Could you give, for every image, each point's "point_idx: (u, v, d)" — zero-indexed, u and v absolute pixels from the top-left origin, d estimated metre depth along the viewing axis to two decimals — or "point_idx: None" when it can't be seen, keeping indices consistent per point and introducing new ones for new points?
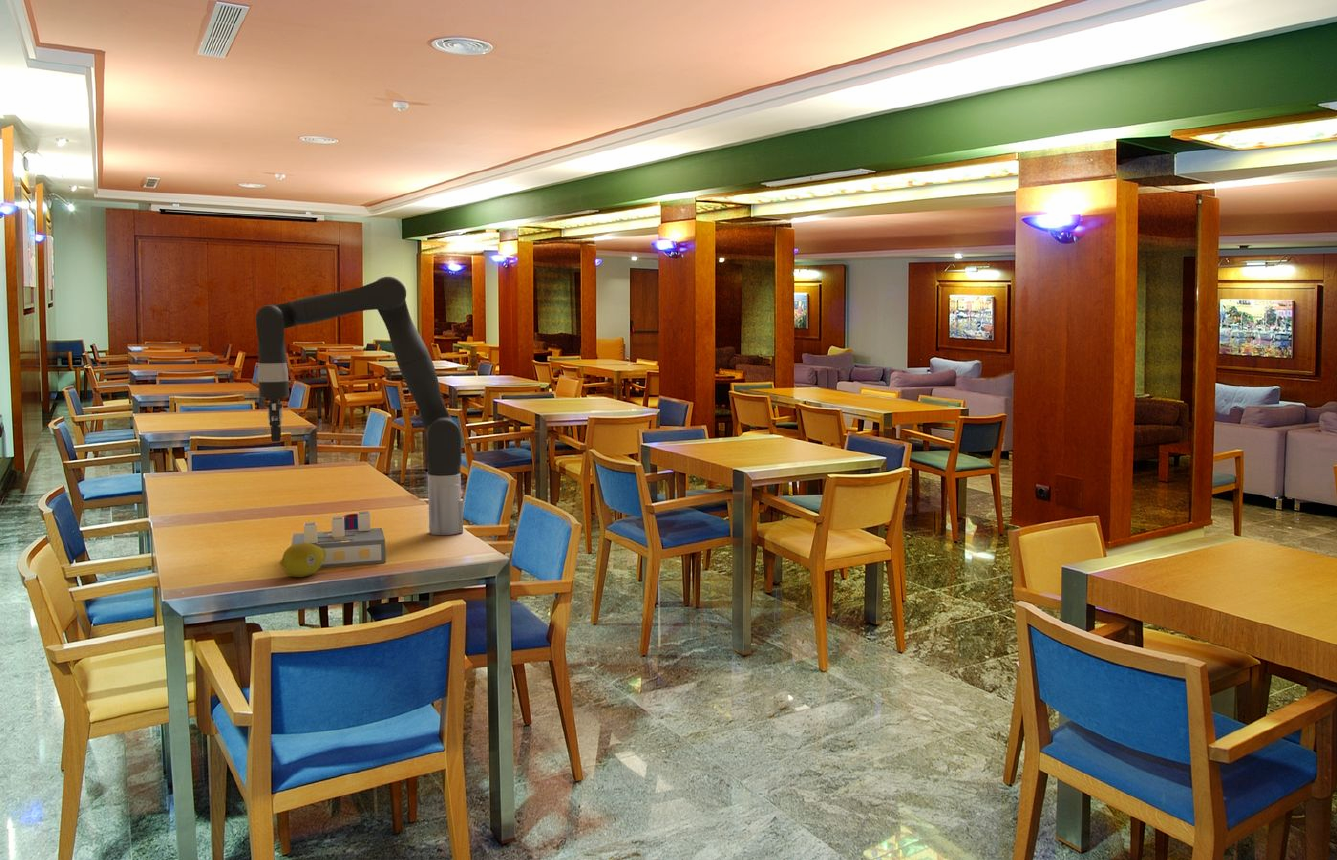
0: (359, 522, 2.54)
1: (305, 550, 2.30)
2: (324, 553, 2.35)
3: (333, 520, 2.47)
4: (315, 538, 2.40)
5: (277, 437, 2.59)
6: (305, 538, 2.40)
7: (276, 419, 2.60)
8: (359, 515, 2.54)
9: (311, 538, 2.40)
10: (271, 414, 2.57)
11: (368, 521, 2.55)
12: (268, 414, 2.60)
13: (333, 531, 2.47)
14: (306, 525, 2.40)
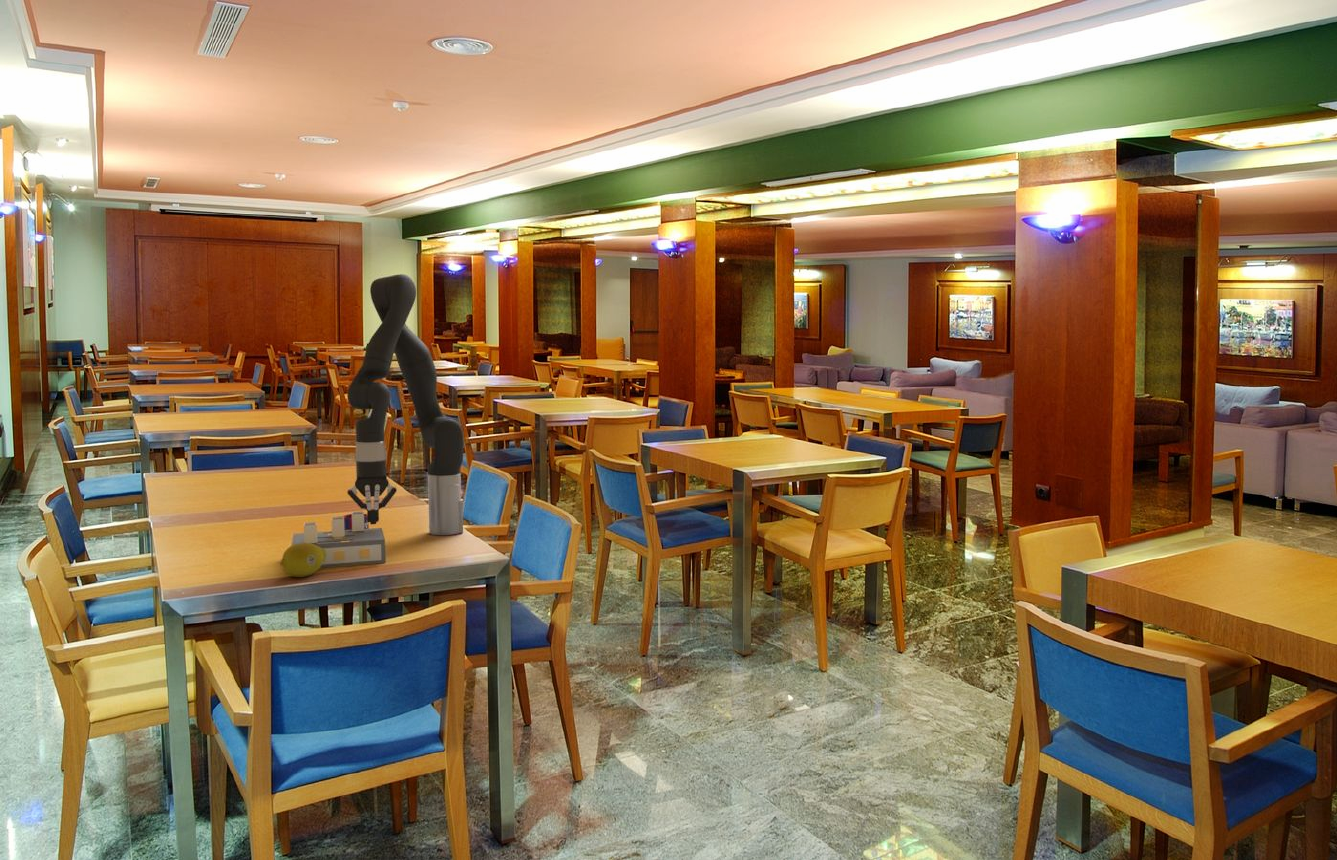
0: (353, 523, 2.54)
1: (305, 550, 2.30)
2: (324, 553, 2.35)
3: (333, 520, 2.47)
4: (315, 538, 2.40)
5: None
6: (305, 538, 2.40)
7: None
8: (353, 515, 2.53)
9: (311, 538, 2.40)
10: (390, 498, 2.57)
11: (362, 521, 2.54)
12: None
13: (333, 531, 2.47)
14: (306, 525, 2.40)
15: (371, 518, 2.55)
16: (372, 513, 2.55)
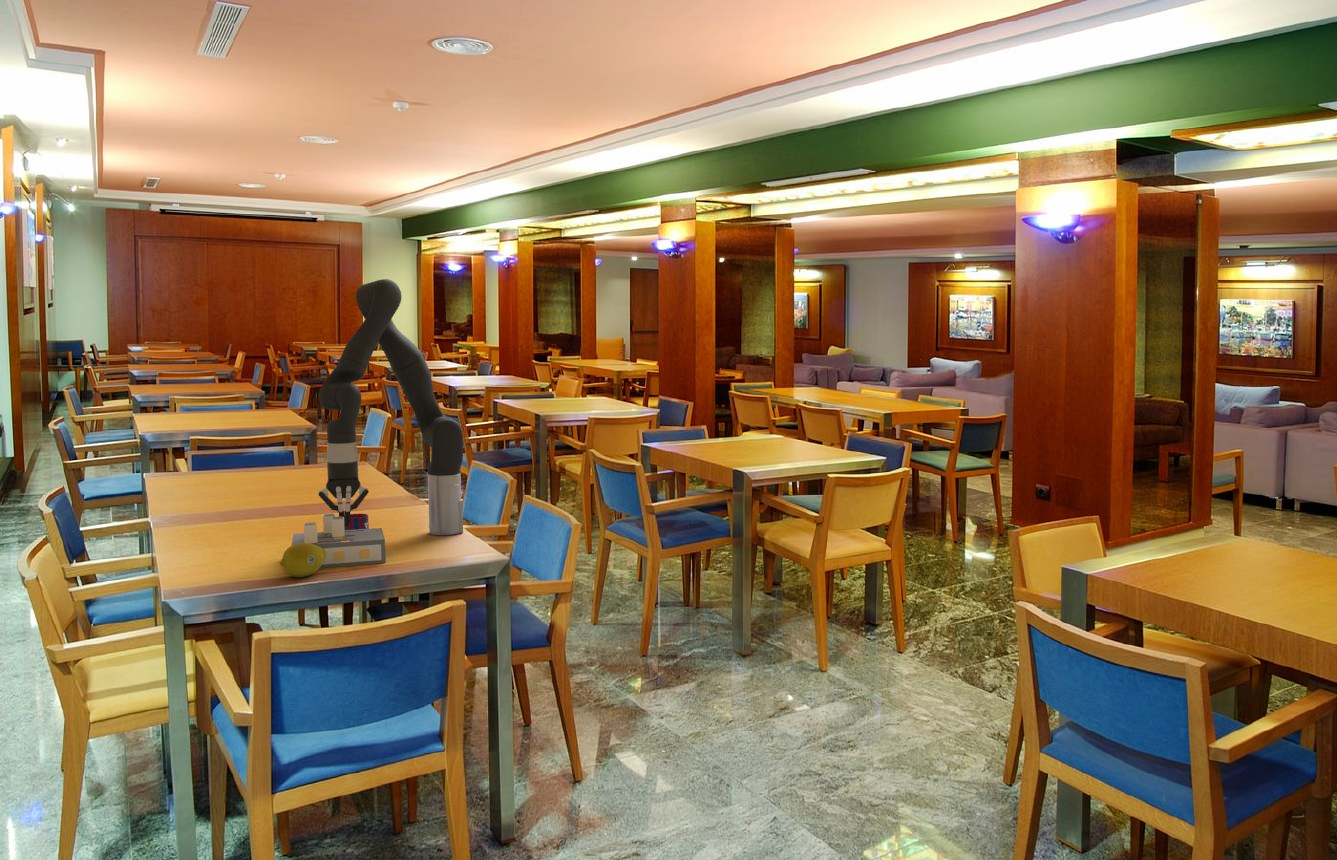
0: (325, 524, 2.51)
1: (305, 550, 2.30)
2: (324, 553, 2.35)
3: (333, 520, 2.47)
4: (315, 538, 2.40)
5: None
6: (305, 538, 2.40)
7: None
8: (324, 517, 2.51)
9: (311, 538, 2.40)
10: None
11: None
12: (350, 498, 2.53)
13: (333, 531, 2.47)
14: (306, 525, 2.40)
15: None
16: (343, 515, 2.53)
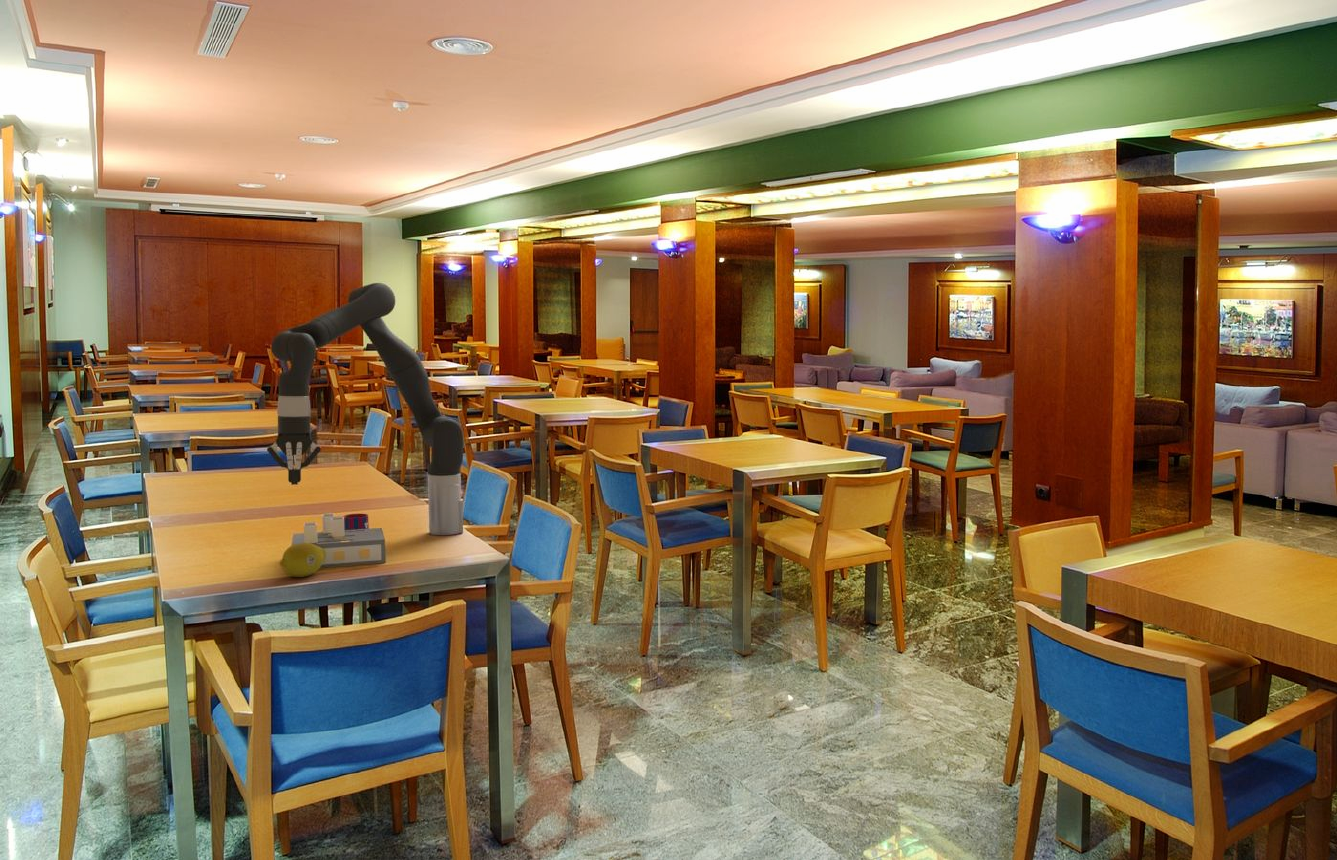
0: (324, 524, 2.51)
1: (305, 550, 2.30)
2: (324, 553, 2.35)
3: (333, 520, 2.47)
4: (315, 538, 2.40)
5: None
6: (305, 538, 2.40)
7: None
8: (323, 517, 2.51)
9: (311, 538, 2.40)
10: None
11: None
12: (301, 455, 2.39)
13: (333, 531, 2.47)
14: (306, 525, 2.40)
15: (292, 478, 2.39)
16: (293, 472, 2.39)
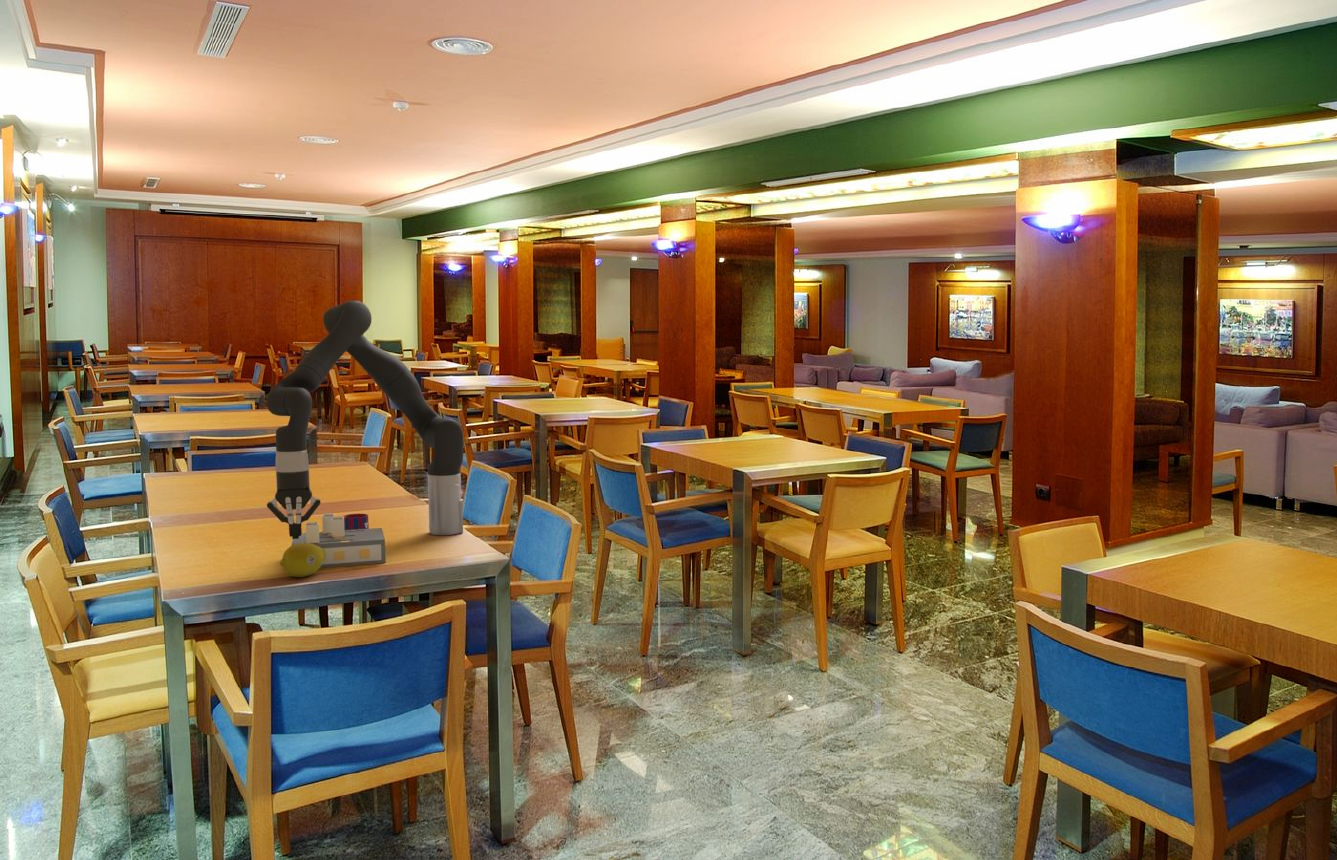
0: (324, 524, 2.51)
1: (305, 550, 2.30)
2: (324, 553, 2.35)
3: (333, 520, 2.47)
4: (317, 538, 2.41)
5: None
6: (307, 538, 2.40)
7: None
8: (323, 517, 2.51)
9: (313, 538, 2.40)
10: None
11: None
12: (301, 509, 2.39)
13: (333, 531, 2.47)
14: (308, 525, 2.40)
15: (293, 532, 2.39)
16: (294, 527, 2.39)
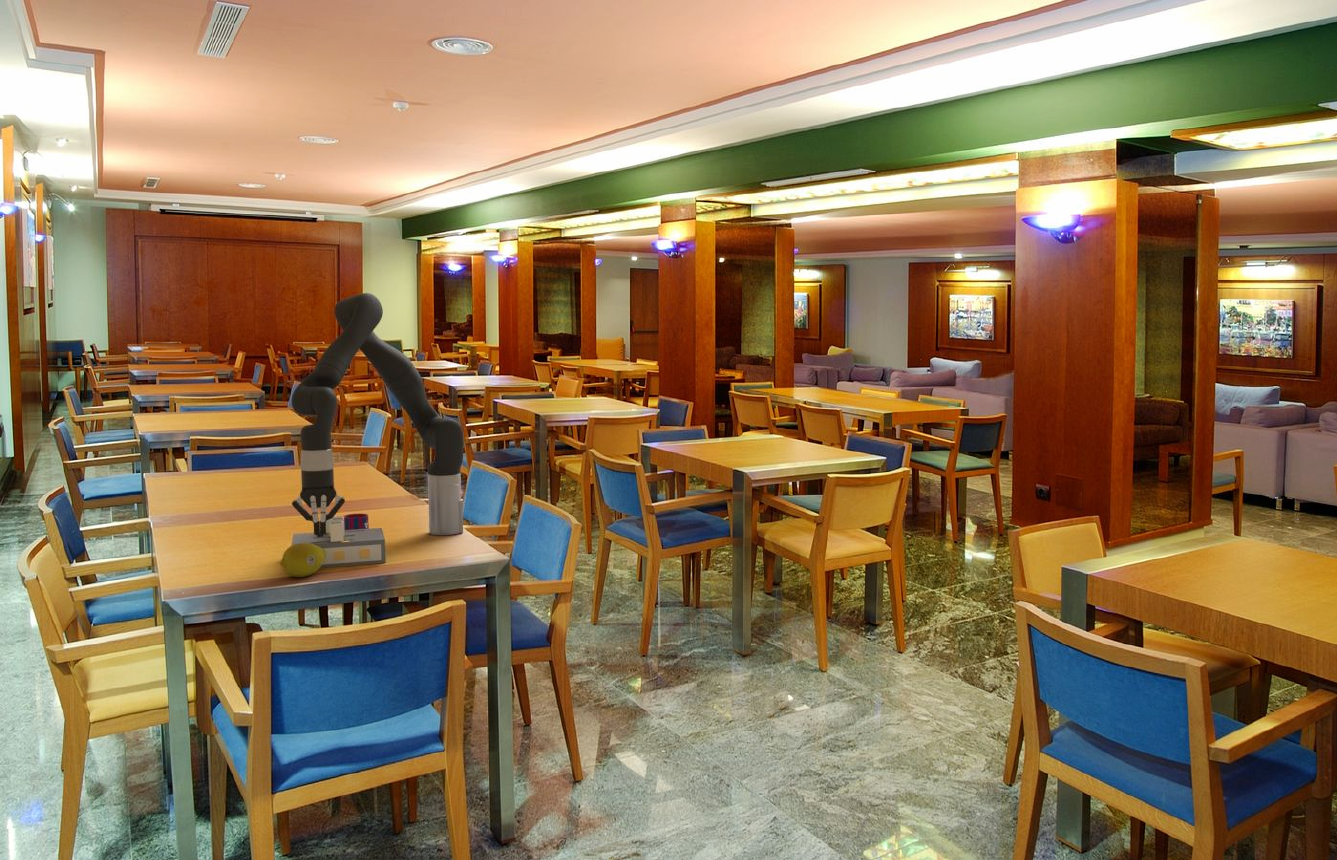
0: None
1: (305, 550, 2.30)
2: (324, 553, 2.35)
3: (333, 520, 2.47)
4: (341, 536, 2.42)
5: None
6: (331, 536, 2.42)
7: None
8: None
9: (337, 536, 2.42)
10: (338, 509, 2.42)
11: None
12: (325, 507, 2.41)
13: None
14: (332, 523, 2.42)
15: (317, 530, 2.41)
16: (318, 525, 2.41)
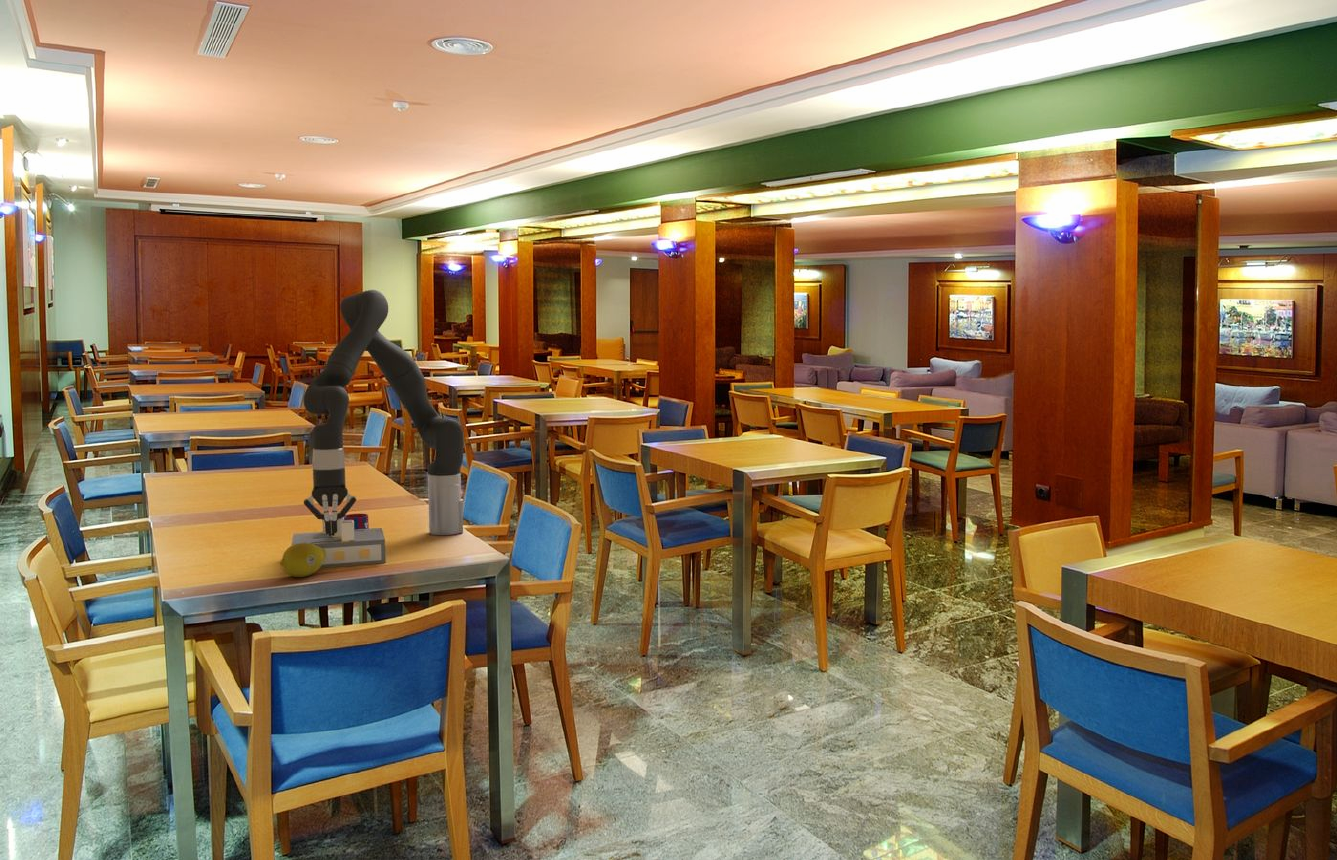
0: (324, 524, 2.51)
1: (305, 550, 2.30)
2: (324, 553, 2.35)
3: None
4: (352, 535, 2.43)
5: None
6: (342, 535, 2.42)
7: None
8: None
9: (349, 535, 2.43)
10: (349, 508, 2.43)
11: None
12: None
13: None
14: (343, 523, 2.42)
15: (329, 529, 2.42)
16: (330, 524, 2.42)
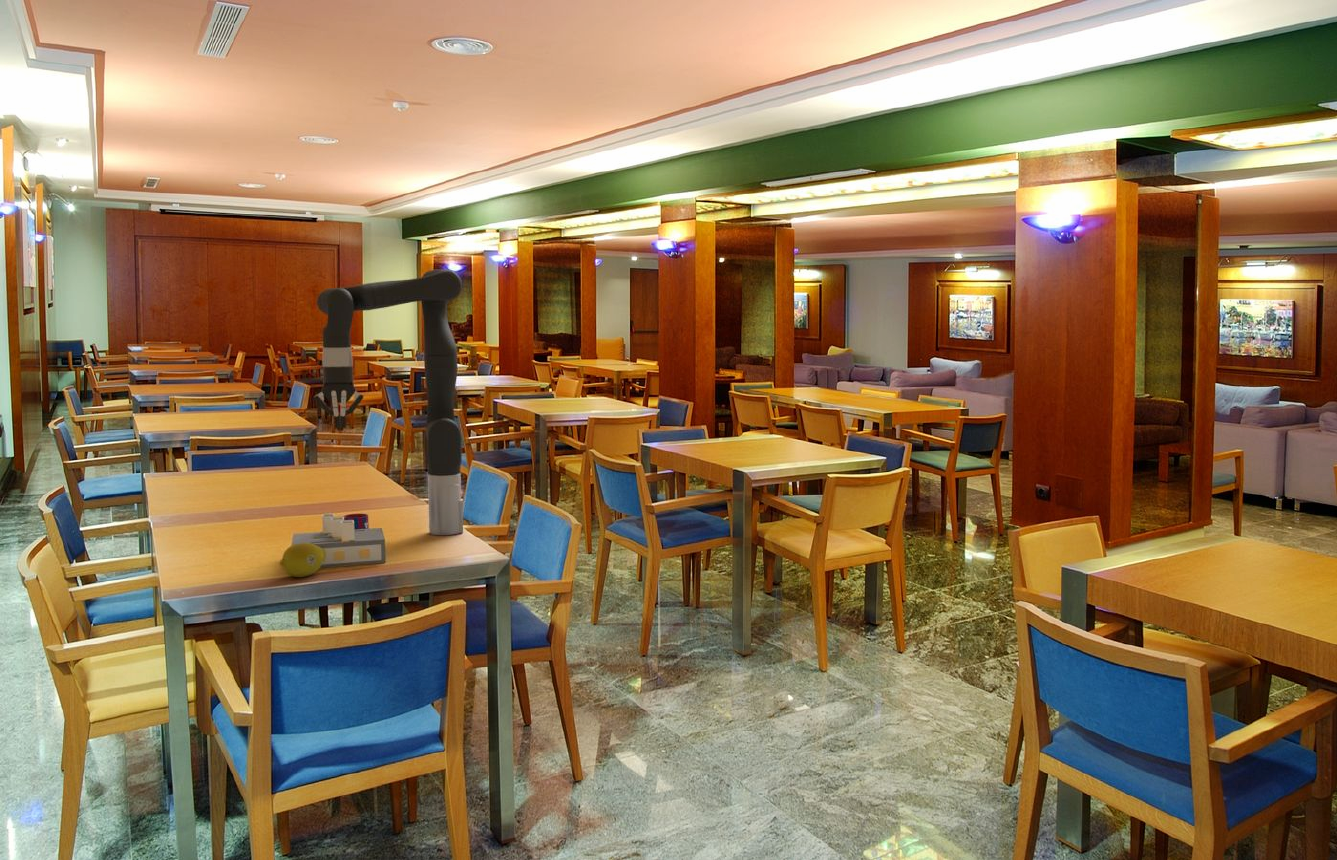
0: (324, 524, 2.51)
1: (305, 550, 2.30)
2: (324, 553, 2.35)
3: (333, 520, 2.47)
4: (352, 535, 2.43)
5: None
6: (343, 535, 2.42)
7: None
8: (323, 517, 2.51)
9: (349, 535, 2.43)
10: None
11: None
12: (345, 402, 2.57)
13: (333, 531, 2.47)
14: (344, 523, 2.42)
15: (338, 424, 2.57)
16: (339, 419, 2.57)
